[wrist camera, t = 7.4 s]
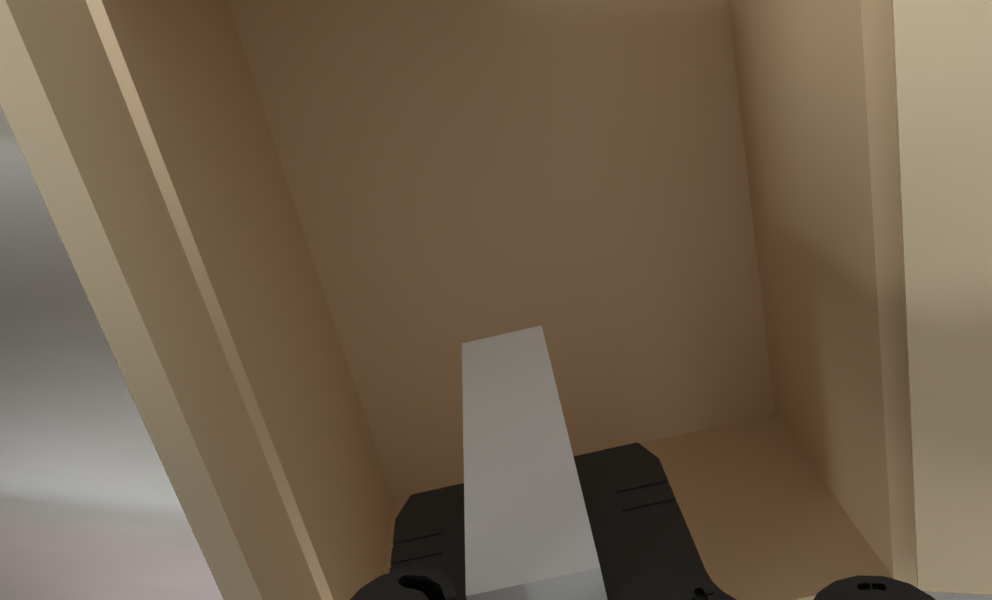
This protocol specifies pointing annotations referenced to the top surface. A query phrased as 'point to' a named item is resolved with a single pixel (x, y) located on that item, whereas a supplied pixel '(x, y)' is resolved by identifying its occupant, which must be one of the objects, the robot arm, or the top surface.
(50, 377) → the top surface
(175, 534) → the top surface
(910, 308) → the flap
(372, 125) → the carton
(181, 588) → the top surface
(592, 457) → the robot arm
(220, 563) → the flap
